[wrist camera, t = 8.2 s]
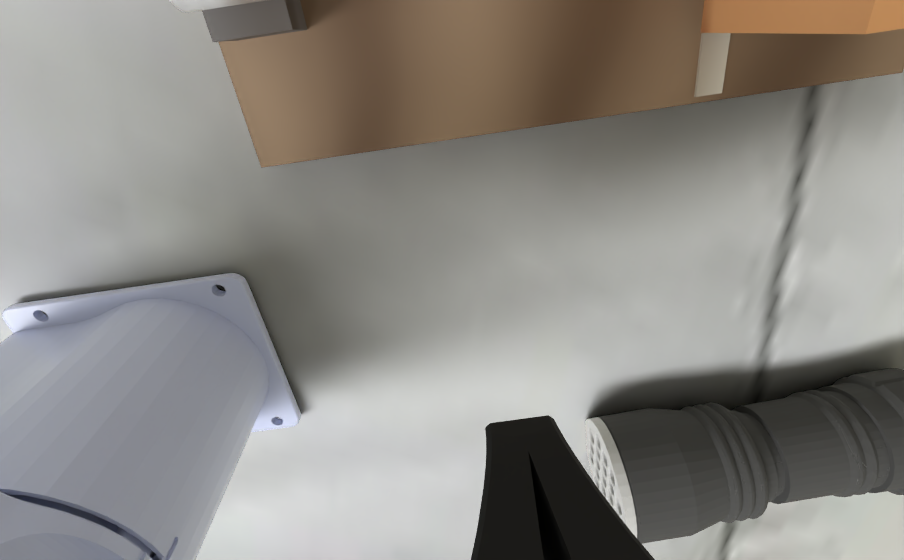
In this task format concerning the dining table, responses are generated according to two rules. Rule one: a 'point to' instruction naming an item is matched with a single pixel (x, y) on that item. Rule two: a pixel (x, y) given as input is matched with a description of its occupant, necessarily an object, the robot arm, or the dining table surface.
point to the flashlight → (748, 455)
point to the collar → (802, 16)
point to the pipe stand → (495, 66)
